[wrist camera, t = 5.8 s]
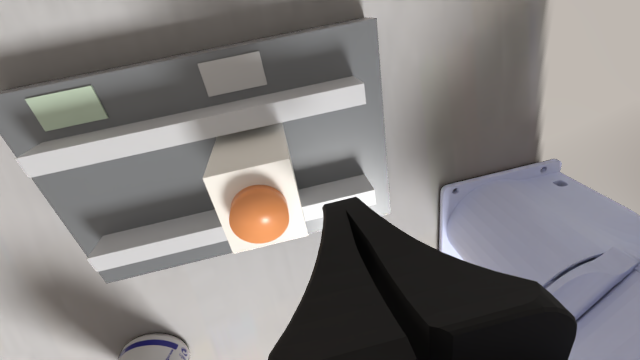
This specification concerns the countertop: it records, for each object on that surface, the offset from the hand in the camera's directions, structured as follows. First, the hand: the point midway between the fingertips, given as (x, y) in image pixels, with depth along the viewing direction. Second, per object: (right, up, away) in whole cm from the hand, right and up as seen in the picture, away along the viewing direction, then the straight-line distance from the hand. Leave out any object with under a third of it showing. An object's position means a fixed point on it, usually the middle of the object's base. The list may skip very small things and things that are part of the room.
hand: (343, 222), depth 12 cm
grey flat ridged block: (-7, +3, +8) cm, 11 cm away
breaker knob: (-4, +3, +6) cm, 8 cm away
